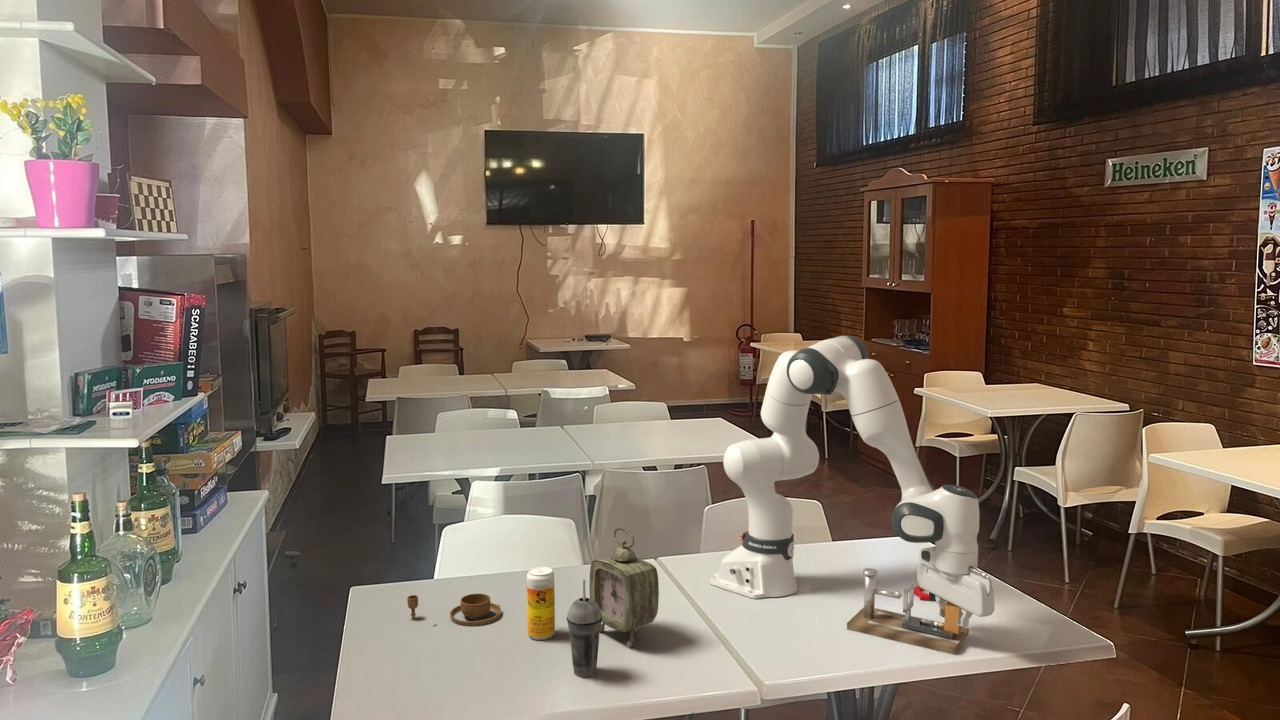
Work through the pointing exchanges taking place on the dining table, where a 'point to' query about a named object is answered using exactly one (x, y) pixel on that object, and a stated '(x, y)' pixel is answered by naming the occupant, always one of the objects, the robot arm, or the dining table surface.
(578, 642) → the beverage cup
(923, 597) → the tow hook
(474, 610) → the place setting
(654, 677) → the dining table surface
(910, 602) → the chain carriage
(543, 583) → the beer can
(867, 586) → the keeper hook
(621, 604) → the tabletop clock
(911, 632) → the board
